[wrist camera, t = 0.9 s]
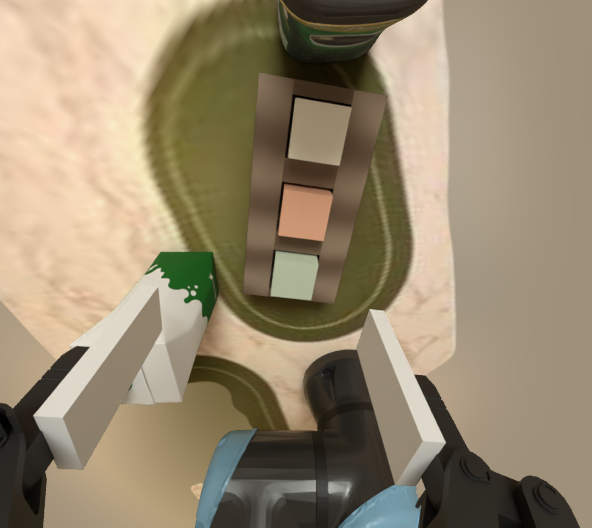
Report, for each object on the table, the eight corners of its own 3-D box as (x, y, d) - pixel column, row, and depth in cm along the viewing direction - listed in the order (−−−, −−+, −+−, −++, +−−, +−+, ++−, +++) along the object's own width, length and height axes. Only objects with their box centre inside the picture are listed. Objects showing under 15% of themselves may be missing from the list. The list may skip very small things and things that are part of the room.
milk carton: (152, 245, 39) (38, 359, 21) (219, 245, 39) (162, 357, 21) (166, 298, 43) (80, 430, 25) (226, 298, 43) (183, 428, 25)
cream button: (334, 160, 31) (339, 165, 27) (288, 153, 30) (288, 157, 27) (345, 107, 28) (351, 107, 25) (294, 99, 28) (295, 97, 25)
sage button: (309, 285, 38) (311, 300, 35) (271, 280, 38) (270, 296, 34) (315, 251, 36) (318, 265, 33) (276, 246, 35) (275, 259, 32)
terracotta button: (320, 229, 34) (323, 241, 31) (279, 224, 34) (278, 235, 31) (328, 188, 32) (333, 196, 29) (284, 181, 31) (284, 189, 28)
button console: (329, 283, 42) (334, 303, 38) (247, 274, 41) (243, 293, 37) (373, 97, 31) (388, 95, 26) (263, 78, 30) (259, 72, 25)
